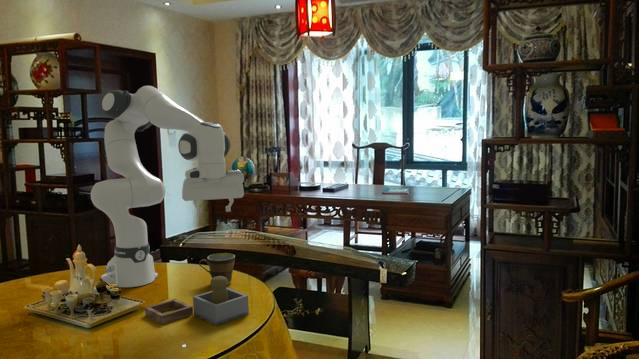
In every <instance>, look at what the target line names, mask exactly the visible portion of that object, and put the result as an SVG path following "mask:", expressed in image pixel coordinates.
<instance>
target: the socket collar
mask: <svg viewBox="0 0 639 359" xmlns="http://www.w3.org/2000/svg"><path fill="white" fill-rule="evenodd" d="M144 309H145V310H144V311H145V312H144V314H145V316H146V317H148V318H149V319H151V320H153V321H155V322H157V323H159V324H161V325H164V324H169V323H171V322H174V321H177V320H180V318H181V319H183V318H186V316H187V317H189V316H192V315H193V316H194V308H193V306H192V305H190V304H188V303H185V302H183V301H181V300H178V299H177V298H173V299H169V300H166V301H163V302H160V303H156V304H153V305H148V306H145V308H144ZM172 309H175V310H172ZM170 310H172V311H170ZM165 311H169V312H167V313H163V312H165Z"/></svg>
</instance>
